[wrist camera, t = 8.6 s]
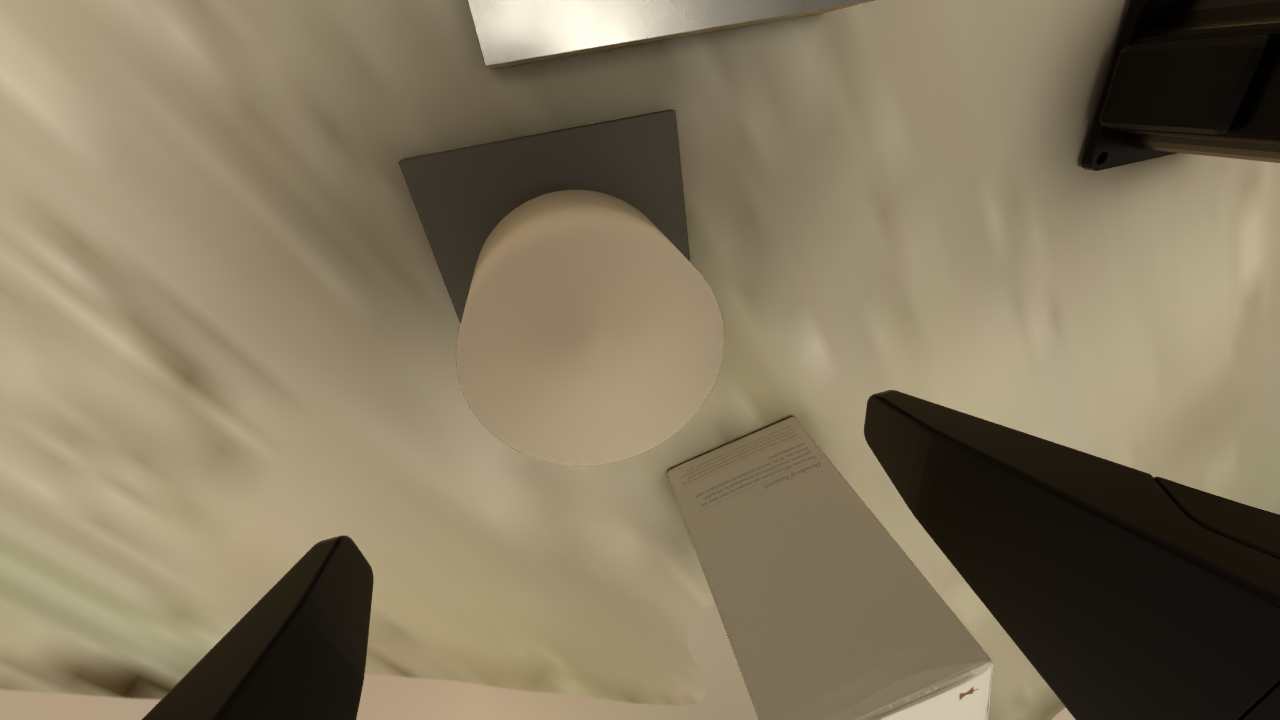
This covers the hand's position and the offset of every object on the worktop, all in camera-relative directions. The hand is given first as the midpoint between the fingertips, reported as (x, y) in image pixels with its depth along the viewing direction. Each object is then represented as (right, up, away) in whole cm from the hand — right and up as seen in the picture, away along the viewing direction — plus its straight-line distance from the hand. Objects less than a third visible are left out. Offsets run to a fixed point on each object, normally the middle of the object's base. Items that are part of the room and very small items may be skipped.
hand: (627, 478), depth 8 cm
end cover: (-2, +6, +10) cm, 12 cm away
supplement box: (+6, -5, +18) cm, 20 cm away
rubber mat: (-2, +6, +10) cm, 12 cm away
